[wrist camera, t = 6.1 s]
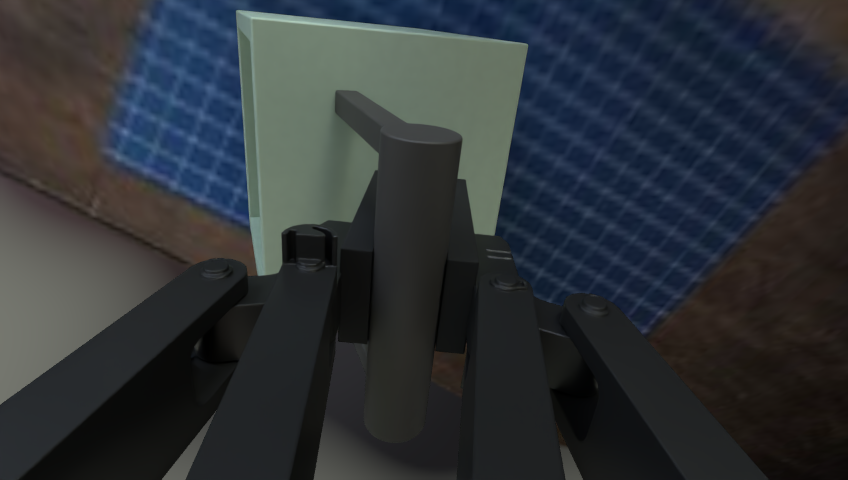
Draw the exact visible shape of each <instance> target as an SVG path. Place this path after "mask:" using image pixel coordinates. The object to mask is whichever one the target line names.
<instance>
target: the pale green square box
mask: <svg viewBox="0 0 848 480" xmlns="http://www.w3.org/2000/svg"><path fill="white" fill-rule="evenodd" d="M236 20H237V35H238V50H239V66H240V81H241V96H242V111H243V127H244V142H245V157H246V173H247V188H248V203H249V219H250V227H251V235H252V241H253V248H254V254H255V261H256V267H257V274H258V276H261V275H270V274H275V273H278V272H279V270H280V268H281V266H282V238H281V233H282V232H283V231H284V230H285V229H287V228H289V227H292V226H295V225H301V224H318V225H320V224H322V223H324V222H326V221H327V220H334V221H344V222H352V221H353V219H354V217H355V215H356V212H357V210H358V208H359V206H360V203H361V201H362V199H363V196H364V194H365V192H366V190H367V187H368V185H369V183H370V181H371V178H372V176H373V174H374V172H375V170H378V177H377V194H376V211H375V229H374V246H373V264H372V281H371V299H370V316H369V333H368V342H367V344H359V343H353V344H354V346H355V348H356V351H357V353H358V356H359V358H360V361H361V363H362V366H363V368H364V371H365V373H366V384H365V402H364V423H365V426H366V428H367V429H368V431H369V432H370V433H371V434H372V435H373V436H375V437H376V438H378V439H380V440H383V441H386V442H392V443H399V442H405V441H408V440H410V439H412V438H414V437H415V436H417V435H418V434H419V433H420V432H421V430H422V429H423V427H424V424H425V418H426V411H427V403H428V395H429V388H430V381H431V373H432V366H433V358H434V351H435V343H436V336H437V328H438V321H439V313H440V306H441V298H442V291H443V283H444V276H445V268H446V261H447V253H448V246H449V238H450V231H451V223H452V216H453V208H454V201H455V193H456V186H457V179H466V185H467V191H468V197H469V203H470V209H471V215H472V221H473V227H474V233H475V234H483V235H492V236H494V235H495V229H496V223H497V218H498V212H499V206H500V201H501V195H502V189H503V184H504V178H505V173H506V167H507V161H508V156H509V150H510V144H511V139H512V133H513V128H514V122H515V116H516V111H517V105H518V99H519V94H520V88H521V83H522V77H523V71H524V66H525V60H526V54H527V49H528V44H525V43H518V42H511V41H503V40H496V39H489V38H482V37H475V36H468V35H460V34H453V33H446V32H439V31H432V30H425V29H418V28H408V27H398V26H389V25H379V24H369V23H359V22H350V21H340V20H330V19H320V18H311V17H301V16H291V15H281V14H272V13H262V12H252V11H242V10H236ZM338 329H339V327H338Z"/></svg>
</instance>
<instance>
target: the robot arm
mask: <svg viewBox="0 0 848 480" xmlns="http://www.w3.org/2000/svg"><path fill="white" fill-rule="evenodd" d="M377 177H378V170H375V172H374V174H373V176H372V178H371V181H370V183H369V185H368V187H367V190H366V192H365V194H364V196H363V199H362V201H361V203H360V206H359V208H358V210H357V212H356V215H355V217H354V219H353V221H352V222H344V221H334V220H327V221H326V222H324V223H322V224H320V225H318V224H301V225H295V226H292V227H289V228H287V229H285V230H284V231H283V232H282V233H281V238H282V266H281V268H280V270H279V272H278V273H275V274H270V275H261V276H247V268H246V266H245V265H244V264H243V263H241V262H239V261H236V260H233V259H224V258H217V259H216V258H215V259H209V260H207V261H203V262H200V263H198V264H196V265H194V266H192V267H190V268H189V269H187V270H186V271H185V272H183V273H182V274H180V275H179V276H178V277H176V278H175V279H173V280H172V281H171V282H169V283H168V284H167V285H165V286H164V287H162V288H161V289H160V290H158V291H157V292H155V293H154V294H153V295H151V296H150V297H149V298H147V299H146V300H144V301H143V302H142V303H140V304H139V305H138V306H136V307H135V308H133V309H132V310H131V311H129V312H128V313H127V314H125V315H124V316H122V317H121V318H120V319H118V320H117V321H115V322H114V323H113V324H111V325H110V326H109V327H107V328H106V329H104V330H103V331H102V332H100V333H99V334H97V335H96V336H95V337H93V338H92V339H90V340H89V341H88V342H86V343H85V344H84V345H82V346H81V347H79V348H78V349H77V350H75V351H74V352H73V353H71V354H70V355H68V356H67V357H66V358H65V359H63V360H61V361H60V362H59V363H57V364H56V365H55V366H53V367H52V368H51V369H49V370H48V371H46V372H45V373H43V374H42V375H41V376H39V377H38V378H37V379H35V380H34V381H33V382H31V383H30V384H28V385H27V386H25V387H24V388H23V389H21V390H20V391H19V392H17V393H16V394H14V395H13V396H12V397H10V398H9V399H8V400H6V401H5V402H3V403H2V404H1V405H0V480H162V478H163V477H164V476H165V475H166V473H167V472H168V471H169V469H170V468H171V467H172V466H173V464H174V463H175V462H176V461H177V459H178V458H179V457H180V455H181V454H182V453H183V452H184V451H185V449H186V448H187V446H188V445H189V444H190V443H191V442H192V440H193V439H194V438H195V437H196V435H197V434H198V433H199V432H200V430H201V429H202V428H203V426H204V425H205V424H206V423H207V421H208V420H209V419H210V418H211V416H212V415H213V414H214V413H215V411H216V410H217V411H216V413H215V415H214V417H213V420H212V422H211V424H210V426H209V429H208V431H207V433H206V435H205V437H204V440H203V442H202V444H201V446H200V449H199V451H198V453H197V456H196V458H195V460H194V462H193V464H192V466H191V469H190V471H189V473H188V476H187V478H186V480H313V479H314V473H315V468H316V462H317V456H318V450H319V444H320V438H321V432H322V427H323V421H324V415H325V409H326V402H327V397H328V391H329V386H330V380H331V374H332V367H333V362H334V356H335V337H336V333H337V330H338V341H339V342H349V343H359V344H367V342H368V333H369V316H370V299H371V281H372V264H373V246H374V229H375V211H376V194H377ZM338 327H339V329H338ZM466 340H467V353H466V359H465V365H464V371H463V377H462V383H461V388H463V395H462V409H461V424H460V426H461V427H460V439H459V453H458V468H457V480H565V474H564V469H563V463H562V457H561V452H560V446H559V440H558V434H557V428H556V423H557V425H558V427H559V429H560V431H561V433H562V436H563V438H564V440H565V442H566V444H567V446H568V448H569V450H570V452H571V454H572V457H573V459H574V461H575V463H576V465H577V467H578V469H579V471H580V474H581V476H582V478H583V480H769V479H768V478H767V477H766V476H765V475H764V474H763V472H762V471H761V470H760V469H759V468H758V467H757V466H756V464H755V463H754V462H753V461H752V460H751V459H750V458H749V456H748V455H747V454H746V453H745V452H744V451H743V449H742V448H741V447H740V446H739V445H738V444H737V443H736V441H735V440H734V439H733V438H732V437H731V436H730V435H729V433H728V432H727V431H726V430H725V429H724V428H723V427H722V425H721V424H720V423H719V422H718V421H717V420H716V419H715V417H714V416H713V415H712V414H711V413H710V412H709V411H708V409H707V408H706V407H705V406H704V405H703V404H702V403H701V401H700V400H699V399H698V398H697V397H696V396H695V395H694V393H693V392H692V391H691V390H690V389H689V388H688V387H687V385H686V384H685V383H684V382H683V381H682V380H681V379H680V377H679V376H678V375H677V374H676V373H675V372H674V371H673V369H672V368H671V367H670V366H669V365H668V364H667V362H666V361H665V360H664V359H663V358H662V357H661V356H660V354H659V353H658V352H657V351H656V350H655V349H654V348H653V346H652V345H651V344H650V343H649V342H648V341H647V340H646V338H645V337H644V336H643V335H642V334H641V333H640V332H639V330H638V329H637V328H636V327H635V326H634V325H633V324H632V322H631V321H630V320H629V319H628V318H627V317H626V316H625V314H624V313H623V312H622V311H621V310H620V309H619V308H618V307H617V306H616V305H615V304H613V303H612V302H610V301H608V300H606V299H604V298H603V297H601V296H598V295H597V296H596V295H594V294H585V293H577V294H571V295H569V296H567V297H566V299H565V301H564V305H563V306H559V305H556V304H552V303H549V302H546V301H543V300H540V299H538V298H536V297H534V296H533V290H532V287H531V285H530V283H528V282H527V281H526V280H525V279H523V278H521V277H519V276H518V273H517V269H516V266H515V263H514V260H513V257H512V254H511V250H510V247H509V244H508V243H507V242H506V241H505V240H503V239H502V238H501V237H500V236H492V235H483V234H475V233H474V227H473V221H472V215H471V209H470V203H469V197H468V191H467V185H466V179H457V186H456V193H455V201H454V208H453V216H452V223H451V231H450V238H449V246H448V253H447V261H446V268H445V276H444V283H443V291H442V298H441V306H440V313H439V321H438V328H437V336H436V351H439V352H450V353H460V354H464V352H465V346H466ZM194 346H195V347H194ZM555 421H556V423H555Z"/></svg>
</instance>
